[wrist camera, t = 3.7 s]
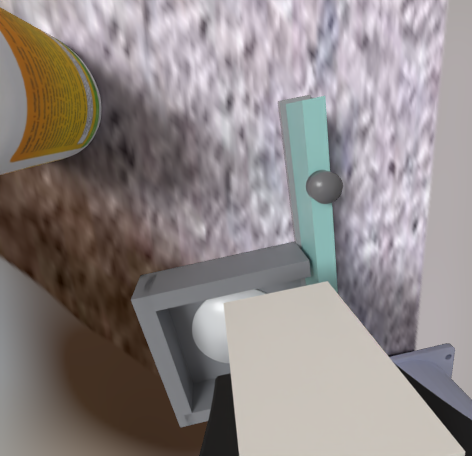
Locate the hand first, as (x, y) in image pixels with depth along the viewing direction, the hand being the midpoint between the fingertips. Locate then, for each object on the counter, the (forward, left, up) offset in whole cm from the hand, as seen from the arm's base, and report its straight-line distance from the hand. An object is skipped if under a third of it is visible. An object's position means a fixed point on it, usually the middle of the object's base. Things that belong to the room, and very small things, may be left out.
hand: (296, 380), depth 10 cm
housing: (0, +1, -8) cm, 8 cm away
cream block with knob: (0, 0, -2) cm, 2 cm away
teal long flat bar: (+2, -4, -8) cm, 9 cm away
